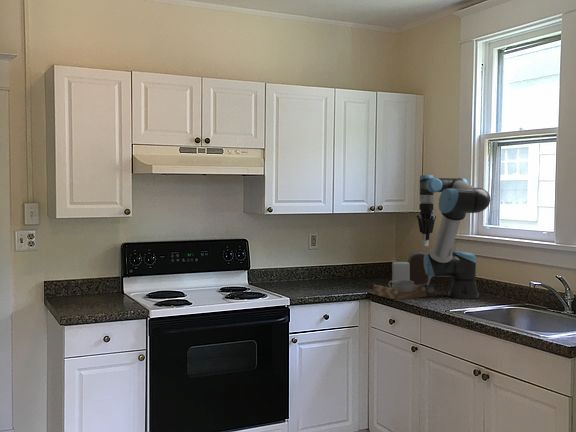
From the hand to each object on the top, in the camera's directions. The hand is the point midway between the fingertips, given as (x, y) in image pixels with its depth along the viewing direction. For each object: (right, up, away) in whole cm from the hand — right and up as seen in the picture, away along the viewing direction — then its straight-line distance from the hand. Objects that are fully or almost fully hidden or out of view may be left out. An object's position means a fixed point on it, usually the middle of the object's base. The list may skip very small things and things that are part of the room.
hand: (425, 245), depth 344 cm
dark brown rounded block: (0, -24, +17) cm, 30 cm away
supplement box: (-13, -25, +2) cm, 28 cm away
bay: (-14, -25, -17) cm, 33 cm away
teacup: (-17, -25, -20) cm, 36 cm away
